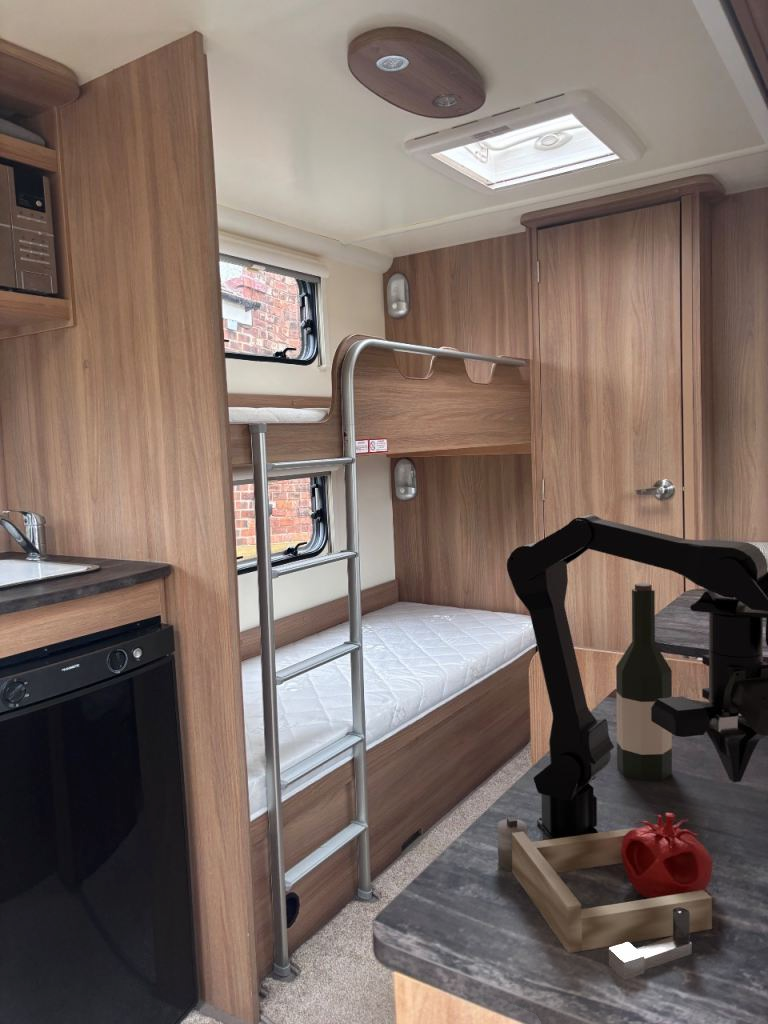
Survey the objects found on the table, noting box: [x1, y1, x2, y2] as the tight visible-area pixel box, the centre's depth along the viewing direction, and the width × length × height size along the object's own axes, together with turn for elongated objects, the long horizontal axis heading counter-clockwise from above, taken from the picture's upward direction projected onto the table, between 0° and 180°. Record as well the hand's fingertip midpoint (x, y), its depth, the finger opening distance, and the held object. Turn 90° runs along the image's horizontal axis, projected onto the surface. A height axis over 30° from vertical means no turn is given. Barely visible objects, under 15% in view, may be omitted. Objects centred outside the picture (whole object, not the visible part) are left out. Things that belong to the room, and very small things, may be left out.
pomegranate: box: [621, 812, 714, 899], centre depth 91 cm, size 10×10×9 cm
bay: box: [497, 816, 713, 954], centre depth 91 cm, size 18×20×6 cm
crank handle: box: [608, 907, 693, 981], centre depth 79 cm, size 9×2×4 cm, turn 111°
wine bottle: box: [615, 582, 673, 782], centre depth 123 cm, size 8×8×30 cm
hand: (734, 780), depth 92 cm, fingers closed
